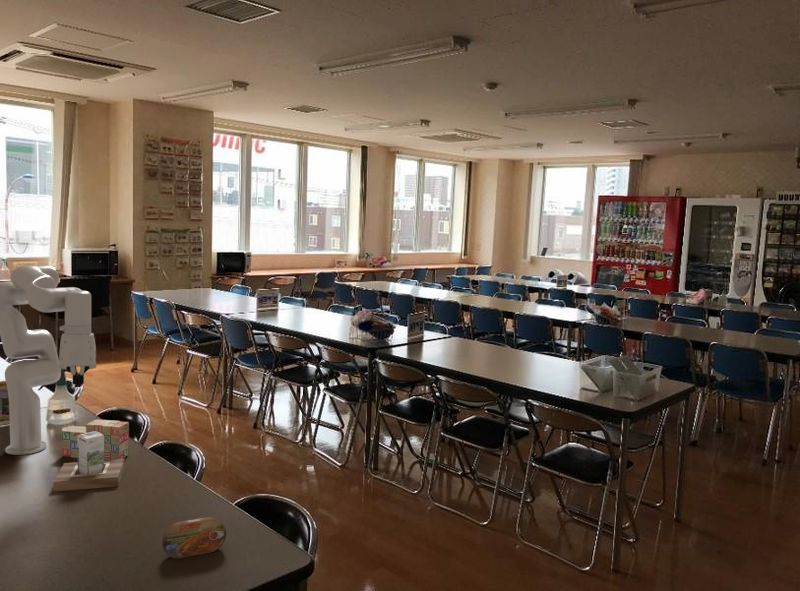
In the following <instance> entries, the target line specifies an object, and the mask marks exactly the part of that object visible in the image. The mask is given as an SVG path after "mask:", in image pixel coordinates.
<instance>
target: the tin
mask: <svg viewBox="0 0 800 591" xmlns="http://www.w3.org/2000/svg"><path fill="white" fill-rule="evenodd" d="M226 539H227V530H226V528H225V525H224V524H223V523H222V521H221V520H220V519H219V518H216V517H213V516H207V517H201V518H195V519H188V520H181V521H177V522H174V523H172V524H171V525H169V526H168V527H167V528H166V529H165V531H164V533H163V535H162V542H161V543H162V549H163V551H164V552H165V554H166V555H167V556H168V557H171V558H174V559H182V558H188V557H192V556H193V557H194V556H197V555H198V556H199V555H204V554H209V553H213V552H216V551H217V550H219V549H220V548H221V547H222V546H223V544H224V543H225V541H226Z"/></svg>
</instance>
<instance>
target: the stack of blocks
mask: <svg viewBox="0 0 800 591" xmlns="http://www.w3.org/2000/svg"><path fill="white" fill-rule="evenodd" d="M129 425H130V422H129V421H121V420H115V419H114V420H111V419H110V420H109V419H108V420H107V419H93V420H92V421H90V422H88V423H86V425H85V426H78V425H77V426H76V425H71V426H70V427H67V428H66V429H64V430H61V444H62V445H61V446H62V457H67V458H68V457H69V458H75V459H78V446H77V436H78V435H81V434H85V433H89V432H94V431H96V432H99V433H101V434H102V435H104V460H117V459H124V460H125V457H126V456H127V457H129V456H130V448H129V447H130V446H129V445H130V444H129V442H130V428H129ZM128 455H129V456H128ZM127 457H126V458H127Z"/></svg>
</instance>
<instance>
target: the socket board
mask: <svg viewBox="0 0 800 591" xmlns="http://www.w3.org/2000/svg"><path fill="white" fill-rule="evenodd" d="M124 471H125V458H124V459H117V460H104V470H103V473H93V474H80V475H78V461H77V462H64V463H63V465H62V466H61V467H60V469H59V471H58V473H57V474H56V476H55V478H54V480H53V482H52V486H53V488H52V490H53V492H64V491H76V490H87V489H89V490H90V489H101V488H102V489H103V488H114V487H119V486H120V483H121V479H122V476H123V473H124Z"/></svg>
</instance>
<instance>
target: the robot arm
mask: <svg viewBox="0 0 800 591" xmlns="http://www.w3.org/2000/svg"><path fill="white" fill-rule="evenodd" d="M59 283H60V274H59V272H58V270H57V268H55V267H54V266H52V265H48V264H38V265H34V264H33V265H32V264H31V265H21V266H18V267H16V268H14V269H13V271H11V273H10V280H7V281H6V280H5V281H0V340H1V344H2V347H3V348H2V349H3V352H4V353H5V356H6V357H8V358H9V359H14V360H15V359H25V358H31V357H38V358H35V359H28V360H21V361H16V362H13V363H11V364H10V365H8V366H7V367H6V369H5V370H4V379H5V384H6V388H7V393H8V409H9V412H8V413H9V416H8V417H9V436H10V437H9V438H10V440H9V441H10V442H9V443H10V444H9V445H8V446H6V447H5V453H6V454H8V455H13V456H24V455H30V454H34V453H38V452H42V451H43V450H45V449H46V448H47V442H45V441H44V440H42V418H41V417H42V416H41V412H42V410H41V399H40V396H39V395H38V394H37V393H36V392H35V391H34V389H33V388H37V387H41V386H47V385H52V384H56V383H57V382H58V381H59V380H60V379H61V376H62V375H61V374H62V370H66V371H68V372H69V373H70V374H71V376H72V385H74V388H81V387H82V386H83V384H85V383H84V382H85V374H86V372H88V371H89V370H93V369H96V368H97V367H98V365H97V346H96V339H95V334H94V333H93V332H92V294H91V292H89V291H87V290H82V289H80V288H78V287H74V286H71V287H70V286H68V287H57V286H58V285H59ZM18 305H20V306H22V305H29V307H31V308H32V309H35V310H37V311H38V312H41V313H54V312H56V313H58V312H64V325H60V326H59V331H63V333H62V334H61V337H60V342H59V343H60V345H59V354H58V352H57V347H56V343H55V340H54V337H53V335H52V333H51V332H49V331H48V330H47V329H44V328H39V329H38V328H37V329H29V328H28V325H27V321H26V318H25V316H24V315H23V313H21V311H19V310H18V309H17V308H16V307H14V306H18ZM77 367H79V368H80V369H79V372H78V369H77Z"/></svg>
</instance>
